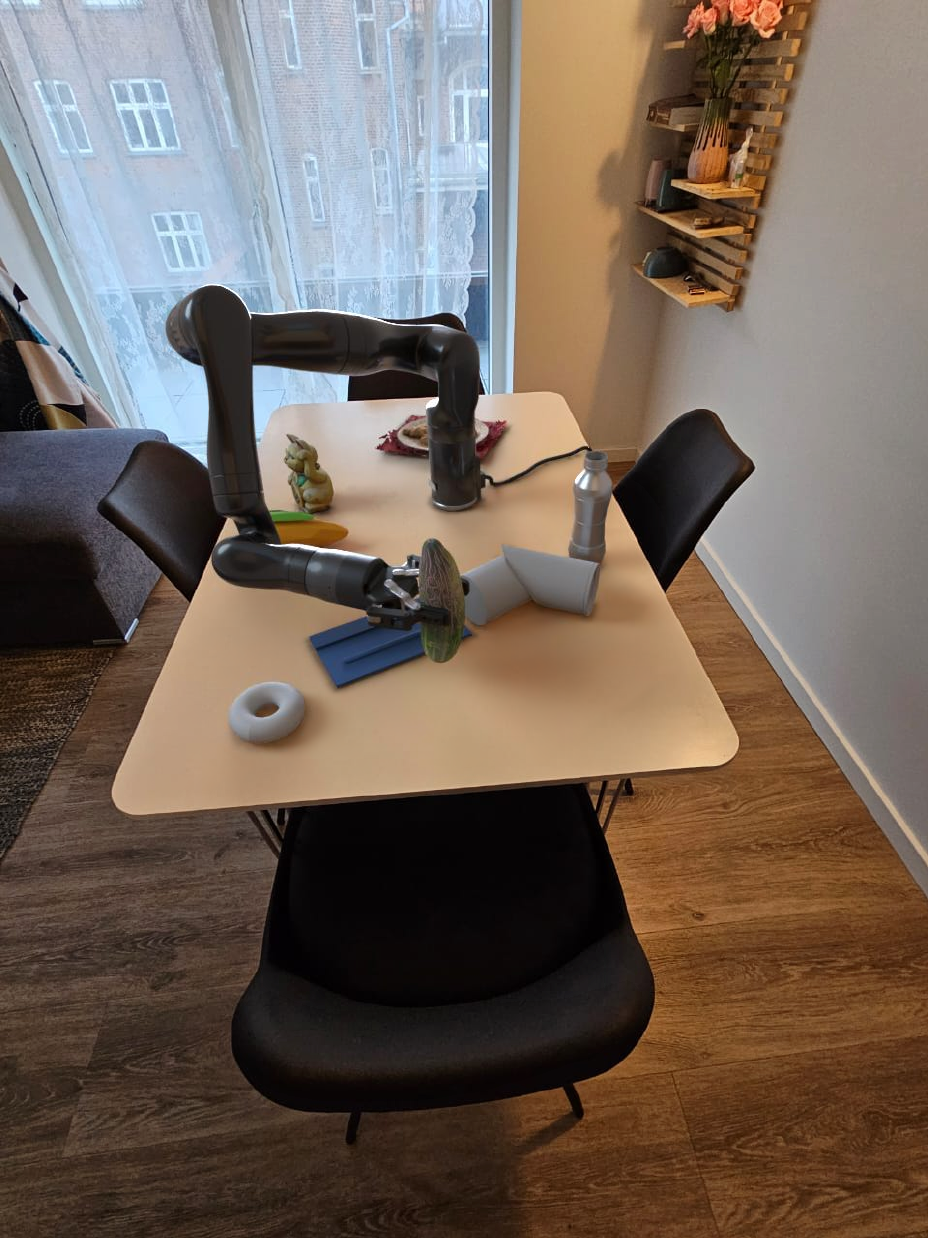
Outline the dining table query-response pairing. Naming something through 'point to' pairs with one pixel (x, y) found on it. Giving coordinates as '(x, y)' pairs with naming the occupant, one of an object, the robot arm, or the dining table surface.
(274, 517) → the corn
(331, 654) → the blue rectangular panel
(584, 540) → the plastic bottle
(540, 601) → the elbow connector
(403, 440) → the plate with food
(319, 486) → the decorative figurine
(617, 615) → the dining table surface
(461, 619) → the vegetable
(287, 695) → the donut
